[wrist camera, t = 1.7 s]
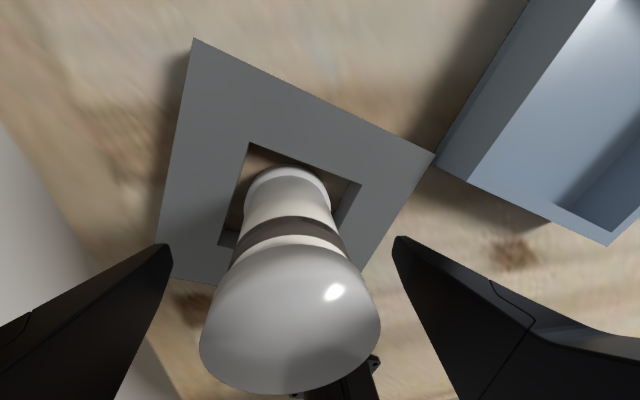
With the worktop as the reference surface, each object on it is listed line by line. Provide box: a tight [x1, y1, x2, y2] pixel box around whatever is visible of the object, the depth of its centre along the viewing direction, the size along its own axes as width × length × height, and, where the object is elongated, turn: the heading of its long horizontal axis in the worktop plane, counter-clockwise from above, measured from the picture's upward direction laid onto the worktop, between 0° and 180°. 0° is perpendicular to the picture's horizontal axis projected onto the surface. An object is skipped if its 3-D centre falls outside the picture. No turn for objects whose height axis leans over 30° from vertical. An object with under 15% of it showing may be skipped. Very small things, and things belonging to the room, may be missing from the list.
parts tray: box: [431, 0, 640, 247], centre depth 11 cm, size 12×12×3 cm
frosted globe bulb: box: [199, 164, 381, 395], centre depth 9 cm, size 4×4×8 cm
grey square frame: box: [154, 37, 436, 286], centre depth 12 cm, size 11×11×2 cm
